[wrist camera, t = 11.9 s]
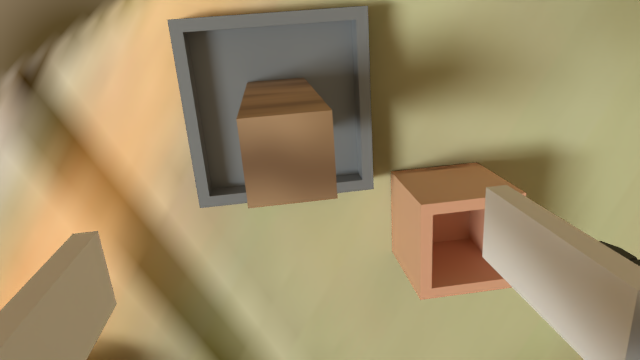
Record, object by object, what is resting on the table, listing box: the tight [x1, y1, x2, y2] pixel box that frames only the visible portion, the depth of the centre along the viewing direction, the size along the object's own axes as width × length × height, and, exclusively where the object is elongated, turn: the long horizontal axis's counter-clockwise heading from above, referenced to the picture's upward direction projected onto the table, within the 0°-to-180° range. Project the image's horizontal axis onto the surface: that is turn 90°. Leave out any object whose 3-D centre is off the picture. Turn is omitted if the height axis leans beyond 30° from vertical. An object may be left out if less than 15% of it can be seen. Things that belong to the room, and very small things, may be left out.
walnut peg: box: [236, 78, 337, 208], centre depth 32 cm, size 5×5×17 cm
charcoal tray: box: [168, 6, 374, 208], centre depth 39 cm, size 16×16×3 cm
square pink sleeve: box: [391, 162, 526, 300], centre depth 42 cm, size 9×9×9 cm
